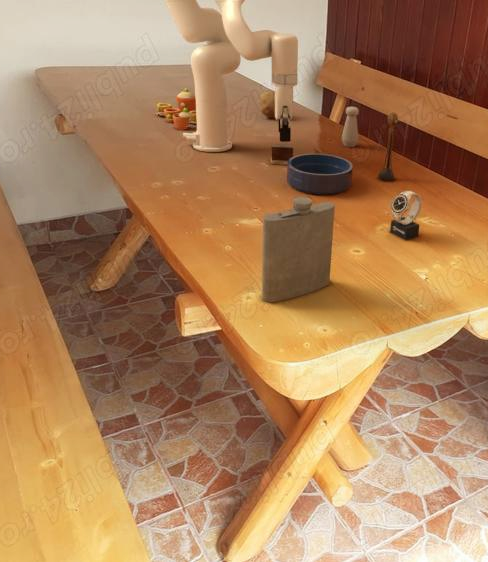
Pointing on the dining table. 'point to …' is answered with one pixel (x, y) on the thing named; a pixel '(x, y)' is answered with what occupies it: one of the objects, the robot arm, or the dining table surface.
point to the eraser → (281, 153)
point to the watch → (401, 224)
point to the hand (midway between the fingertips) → (284, 136)
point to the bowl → (319, 173)
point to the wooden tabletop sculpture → (389, 151)
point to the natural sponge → (268, 104)
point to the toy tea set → (180, 110)
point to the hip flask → (297, 250)
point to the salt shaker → (350, 128)
